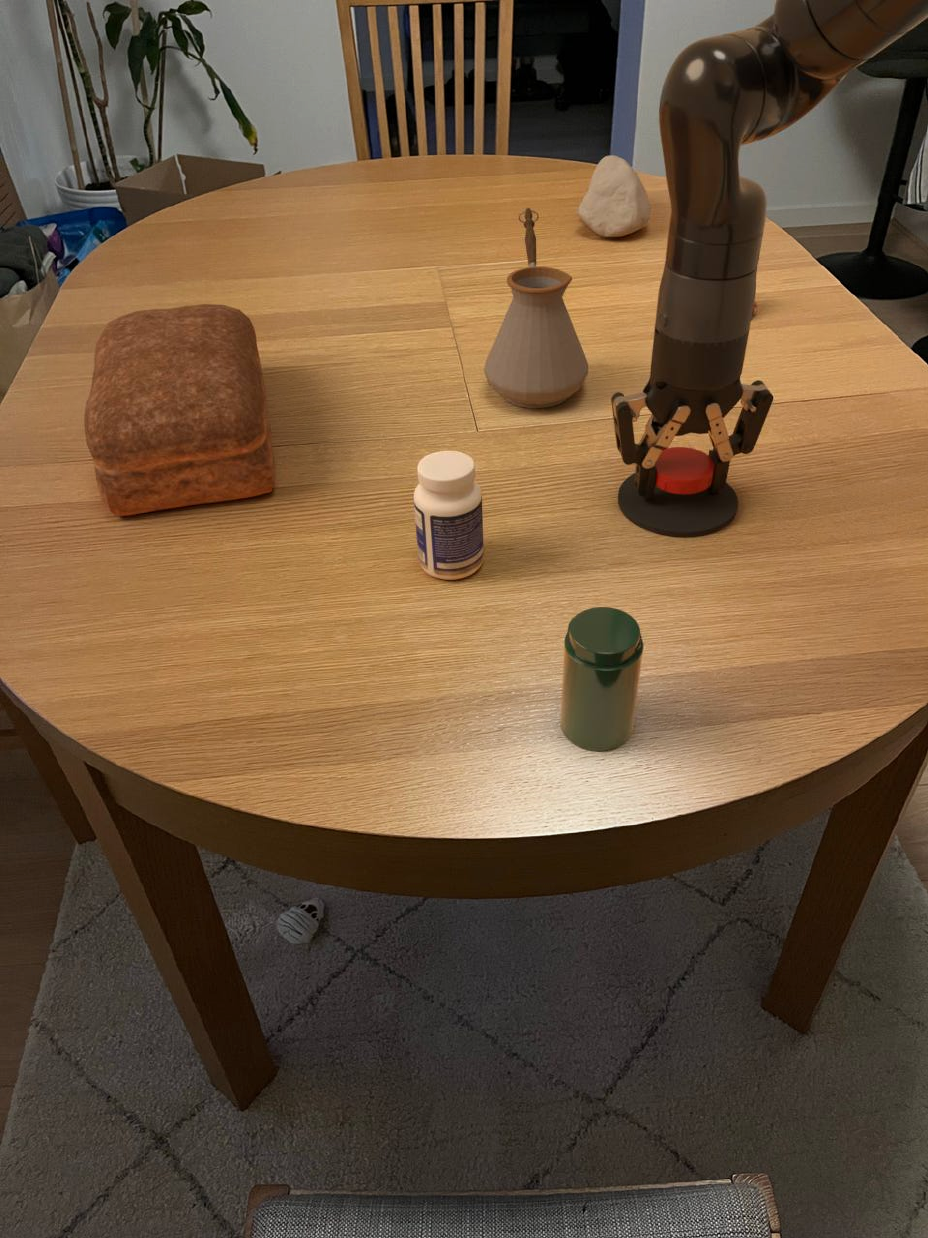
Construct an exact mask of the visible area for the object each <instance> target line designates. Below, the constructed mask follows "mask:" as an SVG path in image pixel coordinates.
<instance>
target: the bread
mask: <svg viewBox="0 0 928 1238" xmlns="http://www.w3.org/2000/svg"><path fill="white" fill-rule="evenodd" d="M93 357H94V359H93V363H94V364H93V366H94V367H93V368H94V369H93V372H92V377H91V379H92V380H91V387H90V391H89V395H88V397H87V399H86V402H85V408H84V409H85V410H84V425H83V426H84V436H85V442H86V445H87V448H88V450H89V453H90V455H91V457H92V459H93V462H94V472H95V480H96V484H97V489H98V492H99V495H100V498H101V501H102V504H103V506H105V508H106V509H108V510H109V511H110V512H111V513H112V514H113V515H114V516H115V517H116V518H118V517H124V516H133V515H139V514H144V513H151V512H157V511H163V510H169V509H174V508H182V507H186V506H188V507H189V506H193V505H202V504H211V503H221V502H227V501H234V500H235V501H236V500H241V499H247V498H248V499H249V498H252V497H257V496H261V495H264V494H268V493H271V492H272V491H273V488H274V483H275V467H274V465H275V464H274V448H273V443H272V431H271V430H272V429H271V427H270V424H269V420H268V413H267V412H268V411H267V402H266V401H267V400H266V394H265V393H266V392H265V385H264V378H263V377H264V375H263V369H262V364H261V363H262V362H261V357H260V352H259V349H258V342H257V334H256V330H255V326H254V324H253V322H252V321H251V319H250V317H248V316H247V315H246V314H245V313H244V312H243V311H242V310H240V309H239V308H235V307H231V306H228V305H225V304H214V303H213V304H212V303H201V304H190V305H182V306H178V307H173V308H153V309H144V310H136V311H133V312H130V313H127V314H124V315H121V316H118V318H115V319H113V320H111V321H109V322H108V323H107V324H106V325H105V327H104V328H103V331H102V333H101V334H100V337H99V338H98V341H97V342H96V345H95V349H94V356H93Z"/></svg>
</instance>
